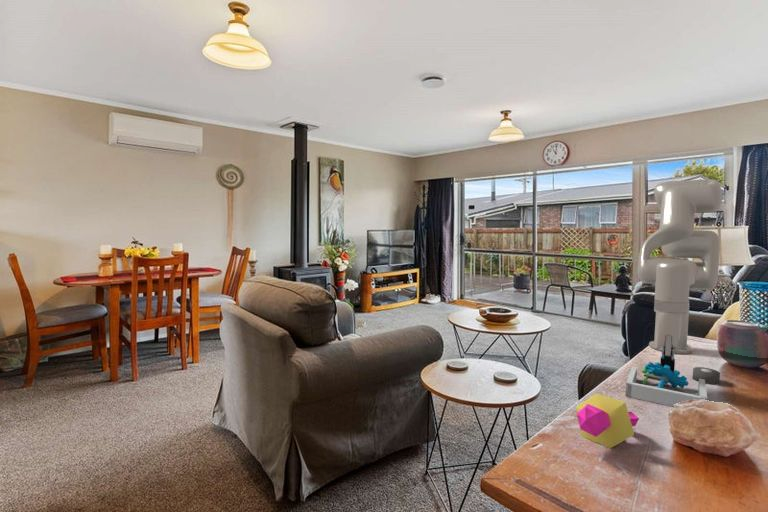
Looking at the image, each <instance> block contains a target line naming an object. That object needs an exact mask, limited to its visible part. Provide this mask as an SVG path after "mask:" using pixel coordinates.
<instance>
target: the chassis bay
mask: <svg viewBox="0 0 768 512" xmlns="http://www.w3.org/2000/svg"><path fill="white" fill-rule="evenodd" d="M637 374H638V367H637V366H631V368H630V372H629V374H628V377H627V380H626V383H625V397H627V396H629V397H628V398H632V397H633V398H632V399H637V400H640V401H641V400H642V401H646V402H649V403H650V402H651V403H655V404H658V405H659V404H660V405H664V406H669V407H672V406H673V405H674V404H676V403H679V402H682V401H686V400H693V399H705V400H707V401H708V394H707V387H706V385H707V384H705V379H699V382H698V384H697V385H698V386H697V387H698V388H697V394H698V395H696V394H692V393H687V392H681V391H676V390H672V389H668V388H667V389H666V388H663V387H662V388H658V386H652V385H648V384H647V385H646V384H645V385H644V384H642V383H637V378H638V377H637Z"/></svg>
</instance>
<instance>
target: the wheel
mask: <svg viewBox="0 0 768 512" xmlns="http://www.w3.org/2000/svg"><path fill="white" fill-rule="evenodd" d="M699 379H705V385H714V386H715V385H720V382H721V381H720V379H721V372H720V371H718V370H716V369H712V368H708V367H701V366H700V367H699V366H697V367H696V366H695V367H693V368H692V380H693V381H696V382H698V383H699Z"/></svg>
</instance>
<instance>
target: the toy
mask: <svg viewBox="0 0 768 512" xmlns="http://www.w3.org/2000/svg"><path fill="white" fill-rule="evenodd" d="M627 407H628V406H627V403H626V402H625V401H622V400H620V399H619V400H618V399H616V398H613V397H609V396H606V395H603V394H600V393H595V394H593V395H592V396H591V397H588V398H587V399H586V400H584V401H583V402H581V403H580V404H578V405H577V406H575V411H576V417H577V421H578V425H579V428H580V433H581V437H582V438H584V439H587V440H589V441H593V442H594V443H597V444H599V445H601V446H603V447H606V448H608V449H611V448H613V447H615V446H617V445H618V444H620V443H622V442H624V441H626V440H627V439H629V438H631V437H633V436H634V435H635V432H634V429H633V428H634V427H636V425H637V424H638V422H639V420H640V417H638V416H637V415H636V414H635V413H634V412H633V411H629V409H628V408H627Z"/></svg>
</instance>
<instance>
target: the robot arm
mask: <svg viewBox="0 0 768 512" xmlns="http://www.w3.org/2000/svg"><path fill="white" fill-rule="evenodd" d="M653 195H654V199H655V202H656V205H657V207H658V209H659V212H660V217H659V228H658V229H656V230H655V231H654V232H653V233H652V234H650V235H649V236H648V237H647V238H646V239H645V240H644V242H643V243H642V245H641V247H640V250H639V254H638V262H637V277H638V279H639V280H640V281H641V282H643V283H645V284H653V285H655V287H654V306H653V311H654V313H655V321H654V322H655V323H654V324H655V325H654V326H655V327H654V340H652V341H649V343H648V346H649V347H650V348H652V349H654V350H657V351H660V352H661V356H660V361H659V363H660V364H661V366H663V367H664V366H665V365H667V366H670V370H671V371H672V372H674V370H675V369H676V368H675V366H676V359H675V354H680V355H685V354H691V353H693V348H692V347H691V346H689V345H688V333H689V332H688V331H689V318H690V317H689V315H690V290H699V291H711V290H714V289H715V288H716V287H717V284H718V282H719V281H718V280H719V267H720V265H719V264H720V250H721V248H720V247H721V246H720V245H721V241H720V237H719V235H718V233H716V232H715V231H712V230H703V229H702V230H697V229H696V230H695V214H696V213H698V214H700V213H701V214H703V213H717V211H718V210H720V207H721V205H722V203H723V190H722V188H721V184H720V182H719V181H718V180H717V179H709V178H707V179H689V180H687V179H685V180H683V179H682V180H672V181H664V182H663V181H662V182H660V183H658V184H657V185H656V186H655V187H654V191H653ZM658 248H661V251H662V254H663V255H664V256H665V257H669V258H662V257H661V258H659V257H651V254H652V253H653V252H655V251H656V250H657V249H658ZM677 258H678V259H677ZM682 258H683V259H682ZM684 258H685V259H684ZM690 259H700V260H701V261H693V260H690Z"/></svg>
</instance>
